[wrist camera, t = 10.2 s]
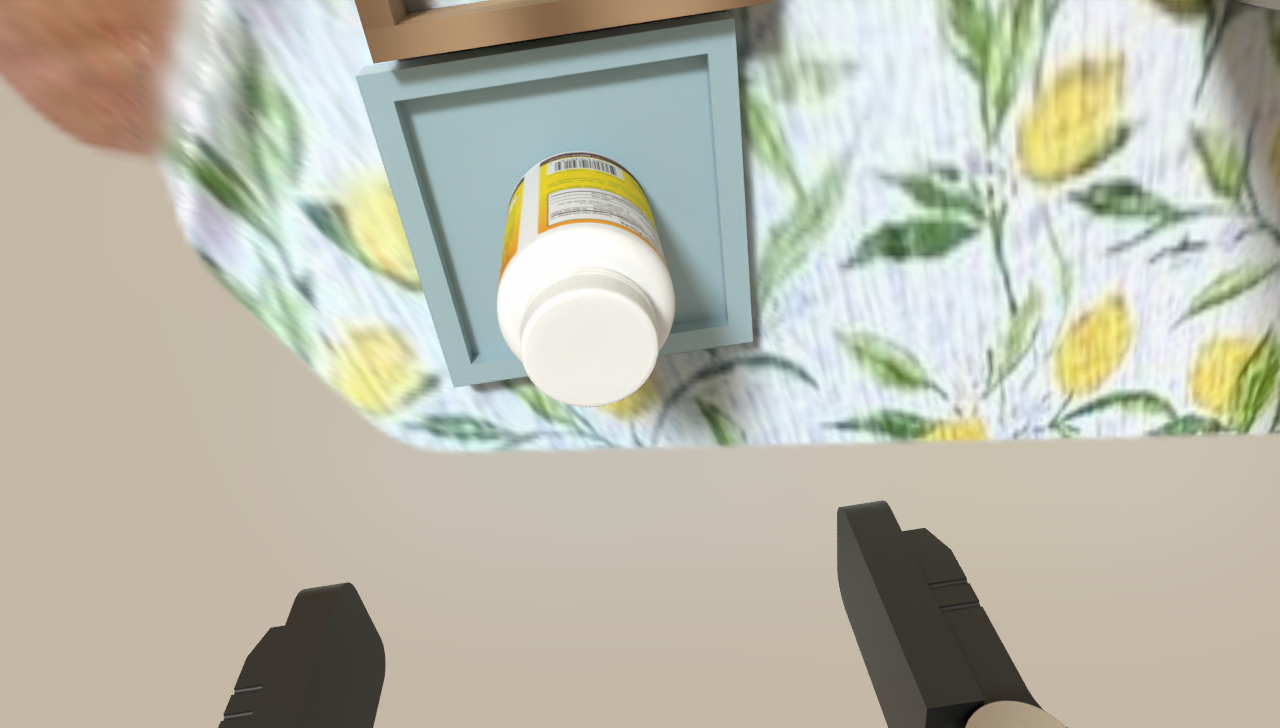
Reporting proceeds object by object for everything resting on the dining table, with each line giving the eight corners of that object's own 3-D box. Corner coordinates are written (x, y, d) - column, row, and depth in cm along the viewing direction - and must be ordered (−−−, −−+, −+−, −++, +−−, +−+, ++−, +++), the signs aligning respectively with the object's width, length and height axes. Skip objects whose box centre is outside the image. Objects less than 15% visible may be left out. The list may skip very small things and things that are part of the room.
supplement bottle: (561, 302, 33) (563, 459, 24) (478, 196, 30) (447, 331, 21) (676, 233, 32) (721, 373, 23) (600, 116, 29) (620, 224, 20)
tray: (727, 11, 28) (735, 17, 27) (746, 325, 35) (752, 341, 34) (364, 66, 28) (355, 76, 27) (457, 369, 35) (453, 387, 34)
